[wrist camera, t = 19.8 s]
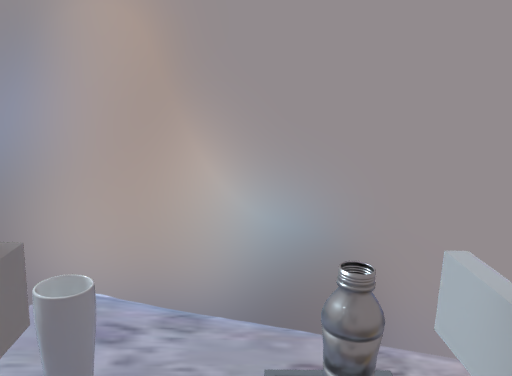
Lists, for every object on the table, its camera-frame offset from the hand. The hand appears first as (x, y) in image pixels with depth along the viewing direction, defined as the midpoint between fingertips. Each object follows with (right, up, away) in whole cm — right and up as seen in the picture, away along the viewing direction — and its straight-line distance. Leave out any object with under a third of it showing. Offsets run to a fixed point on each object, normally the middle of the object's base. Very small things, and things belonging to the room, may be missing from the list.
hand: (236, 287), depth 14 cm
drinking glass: (-22, -23, +42) cm, 53 cm away
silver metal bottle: (+10, -25, +35) cm, 44 cm away
